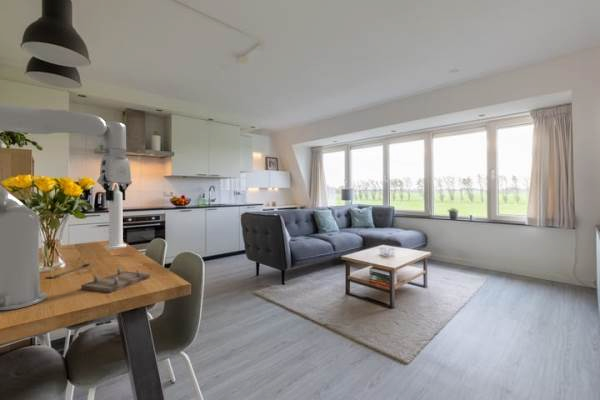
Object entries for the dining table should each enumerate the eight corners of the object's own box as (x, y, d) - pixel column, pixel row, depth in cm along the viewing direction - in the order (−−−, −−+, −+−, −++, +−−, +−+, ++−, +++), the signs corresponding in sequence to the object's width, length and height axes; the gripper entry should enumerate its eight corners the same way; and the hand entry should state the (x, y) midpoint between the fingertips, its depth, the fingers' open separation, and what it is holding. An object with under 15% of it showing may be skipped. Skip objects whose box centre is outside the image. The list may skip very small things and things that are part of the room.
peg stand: (110, 292, 99) (110, 281, 99) (81, 288, 103) (81, 278, 103) (150, 277, 117) (149, 268, 117) (123, 274, 120) (123, 265, 120)
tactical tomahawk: (59, 281, 114) (59, 278, 114) (44, 279, 115) (44, 277, 115) (99, 266, 135) (99, 264, 135) (86, 265, 136) (86, 263, 136)
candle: (106, 249, 104) (105, 184, 104) (104, 247, 110) (103, 184, 109) (128, 247, 109) (127, 184, 108) (125, 244, 114) (124, 184, 114)
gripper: (102, 150, 99) (103, 201, 100) (140, 156, 116) (140, 200, 116) (86, 151, 101) (87, 200, 102) (125, 157, 118) (126, 199, 118)
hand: (115, 199), depth 109 cm, fingers closed on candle, 4 cm apart
